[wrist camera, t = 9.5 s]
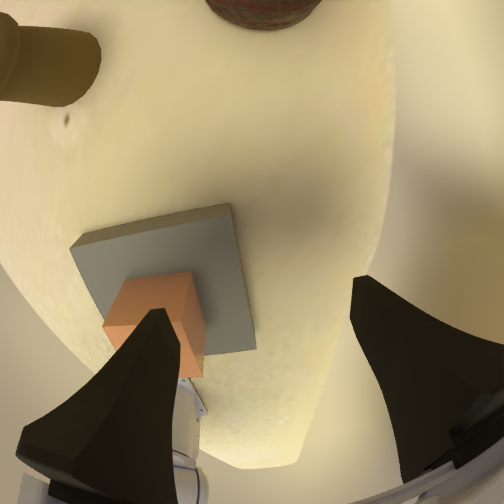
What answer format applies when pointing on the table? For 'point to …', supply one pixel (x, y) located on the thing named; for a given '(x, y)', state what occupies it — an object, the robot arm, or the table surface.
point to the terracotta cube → (177, 307)
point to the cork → (45, 63)
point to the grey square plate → (175, 267)
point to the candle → (263, 12)
